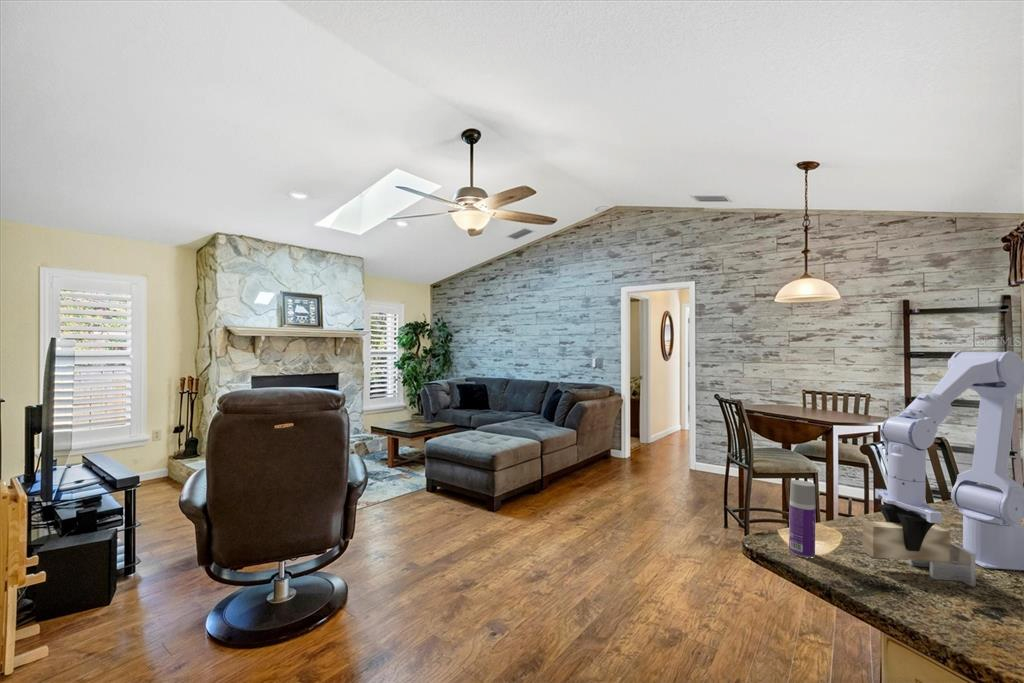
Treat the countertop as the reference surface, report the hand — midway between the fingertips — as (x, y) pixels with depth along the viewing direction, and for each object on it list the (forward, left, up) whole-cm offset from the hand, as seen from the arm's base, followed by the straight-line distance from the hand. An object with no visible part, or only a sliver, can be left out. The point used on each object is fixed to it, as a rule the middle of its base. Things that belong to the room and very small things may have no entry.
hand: (905, 546), depth 90 cm
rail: (0, 0, -2) cm, 2 cm away
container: (+17, -5, -5) cm, 18 cm away
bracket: (-6, 0, -5) cm, 7 cm away
